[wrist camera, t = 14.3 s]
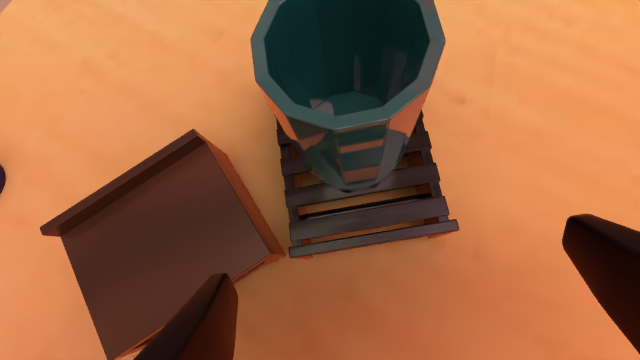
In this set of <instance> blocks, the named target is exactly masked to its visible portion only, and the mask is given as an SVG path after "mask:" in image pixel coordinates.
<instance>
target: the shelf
mask: <svg viewBox="0 0 640 360" xmlns="http://www.w3.org/2000/svg"><path fill="white" fill-rule="evenodd" d="M40 230H41V233H42V235H45V236H57V237H61V239H62V242H63V245H64V247H65V250H66V252H67V255H68V258H69V260H70V263H71V265H72V268H73V271H74V273H75V276H76V279H77V281H78V284H79V286H80V289H81V292H82V294H83V297H84V299H85V302H86V305H87V307H88V310H89V313H90V315H91V318H92V320H93V323H94V326H95V328H96V331H97V333H98V336H99V339H100V341H101V344H102V347H103V349H104V352H105V354H106V357H107V360H116V359H118V358H121V357H124V356H126V355H129V354H131V353H133V352H136V351H138V350H141V349H143V348H144V347H145V346H146V345H147V344H148V343H149V342H150V341H151V340H152V339H153V338H154V337H155V336H156V334H157V333H158V332H159V331H160V330H161V329H162V328H163V327H164V326H165V325H166V324H167V323H168V321H169V320H170V319H171V318H172V317H173V316H174V315H175V314H176V313H177V312H178V311H179V310H180V309H181V307H182V306H183V305H184V304H185V303H186V302H187V301H188V300H189V299H190V298H191V297H192V296H193V295H194V293H195V292H196V291H197V290H198V289H199V288H200V287H201V286H202V285H203V284H204V283H205V282H206V280H207V279H208V278H209V277H210V276H212V275H214V274H220V273H227V274H228V275H229V277H230V279H231V281H232V283H233V285H234V284H235V283H236V282H238V281H239V280H241V279H242V278H244V277H245V276H247V275H248V274H250V273H251V272H253V271H254V270H256V269H257V268H259V267H260V266H262V265H263V264H265V263H266V262H268V261H278V260H279V259H281V258H282V257H284V256H285V253H284V251H283V250H282V248H281V246H280V245H279V243H278V241H277V240H276V238H275V236H274V235H273V233H272V231H271V229H270V228H269V226H268V224H267V223H266V221H265V219H264V218H263V216H262V214H261V213H260V211H259V209H258V208H257V206H256V204H255V203H254V201H253V199H252V198H251V196H250V194H249V192H248V191H247V189H246V187H245V186H244V184H243V182H242V181H241V179H240V177H239V176H238V174H237V172H236V171H235V169H234V167H233V166H232V164H231V162H230V161H229V159H228V157H227V155H226V154H225V153H223V152H222V151H221V150H220V149H218V148H217V147H216V146H215V145H213V144H212V143H211V142H210V141H208V140H207V139H206V138H204V137H203V136H202V135H201V134H200V133H198V132H197V131H196V130H195V129H192V130H191V131H189V132H187V133H186V134H184V135H183V136H181V137H180V138H178V139H177V140H175V141H173V142H172V143H170V144H169V145H167V146H166V147H164V148H163V149H161V150H159V151H158V152H156V153H155V154H153V155H152V156H150V157H149V158H147V159H145V160H144V161H142V162H141V163H139V164H138V165H136V166H135V167H133V168H131V169H130V170H128V171H127V172H125V173H124V174H122V175H121V176H119V177H117V178H116V179H114V180H113V181H111V182H110V183H108V184H107V185H105V186H103V187H102V188H100V189H99V190H97V191H96V192H94V193H93V194H91V195H89V196H88V197H86V198H85V199H83V200H82V201H80V202H79V203H77V204H75V205H74V206H72V207H71V208H69V209H68V210H66V211H65V212H63V213H61V214H60V215H58V216H57V217H55V218H54V219H52V220H51V221H49V222H47V223H46V224H44V225H43V226H41V227H40Z"/></svg>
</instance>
